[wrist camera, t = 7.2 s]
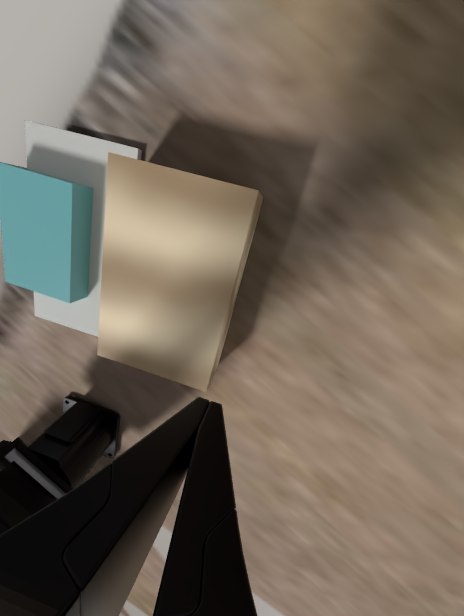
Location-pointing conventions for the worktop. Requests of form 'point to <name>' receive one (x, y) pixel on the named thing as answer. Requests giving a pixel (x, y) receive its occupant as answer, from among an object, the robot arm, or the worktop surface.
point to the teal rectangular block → (45, 232)
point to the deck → (171, 267)
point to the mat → (92, 172)
